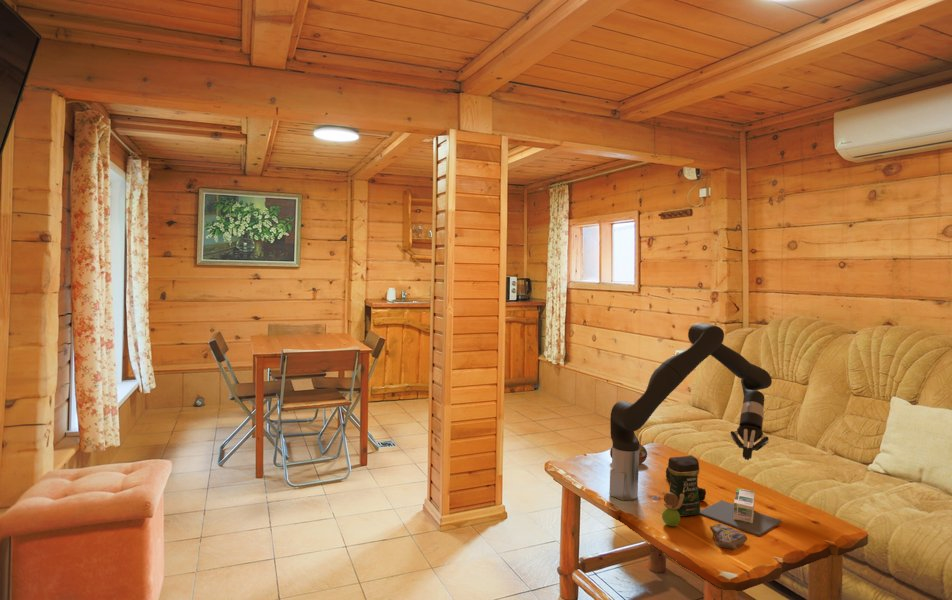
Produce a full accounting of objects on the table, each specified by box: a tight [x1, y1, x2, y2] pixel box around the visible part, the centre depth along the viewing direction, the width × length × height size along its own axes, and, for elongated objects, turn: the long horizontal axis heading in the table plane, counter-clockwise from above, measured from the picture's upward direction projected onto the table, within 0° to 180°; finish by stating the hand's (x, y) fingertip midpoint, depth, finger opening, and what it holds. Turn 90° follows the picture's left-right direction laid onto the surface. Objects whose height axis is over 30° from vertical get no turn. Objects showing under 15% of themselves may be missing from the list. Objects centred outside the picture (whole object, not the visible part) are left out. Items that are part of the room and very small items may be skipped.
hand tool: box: [665, 466, 707, 502], centre depth 208 cm, size 23×5×6 cm, turn 8°
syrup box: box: [733, 487, 756, 523], centre depth 186 cm, size 6×6×14 cm
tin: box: [609, 444, 648, 465], centre depth 235 cm, size 15×3×8 cm, turn 90°
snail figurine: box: [661, 490, 685, 527], centre depth 177 cm, size 5×6×12 cm
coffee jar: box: [667, 455, 701, 517], centre depth 187 cm, size 10×8×19 cm
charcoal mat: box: [698, 499, 783, 537], centre depth 184 cm, size 16×20×1 cm
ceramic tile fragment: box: [709, 523, 748, 551], centre depth 168 cm, size 12×3×10 cm
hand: (746, 458), depth 198 cm, fingers closed
